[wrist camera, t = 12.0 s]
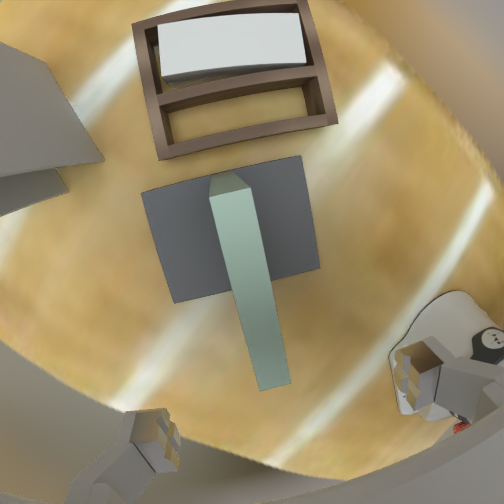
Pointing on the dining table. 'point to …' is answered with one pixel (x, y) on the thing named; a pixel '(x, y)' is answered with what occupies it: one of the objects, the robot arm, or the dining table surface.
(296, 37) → the offcut upper
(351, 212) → the dining table surface
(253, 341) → the block
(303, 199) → the mat
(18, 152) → the brochure
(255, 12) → the rack
